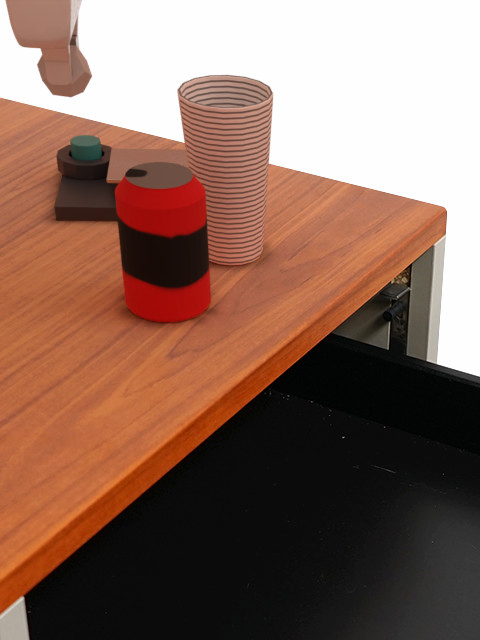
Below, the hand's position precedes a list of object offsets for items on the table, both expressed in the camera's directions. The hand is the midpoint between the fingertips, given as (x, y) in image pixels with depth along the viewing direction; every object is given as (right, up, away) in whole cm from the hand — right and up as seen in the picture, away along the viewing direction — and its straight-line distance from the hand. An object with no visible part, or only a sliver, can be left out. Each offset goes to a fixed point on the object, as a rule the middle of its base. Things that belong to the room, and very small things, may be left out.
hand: (64, 70), depth 106 cm
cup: (+8, -7, +28) cm, 30 cm away
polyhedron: (0, -1, +1) cm, 2 cm away
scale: (-4, +1, +37) cm, 37 cm away
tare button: (-8, +5, +37) cm, 38 cm away
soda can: (+4, -14, +19) cm, 24 cm away
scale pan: (-1, +3, +35) cm, 35 cm away
